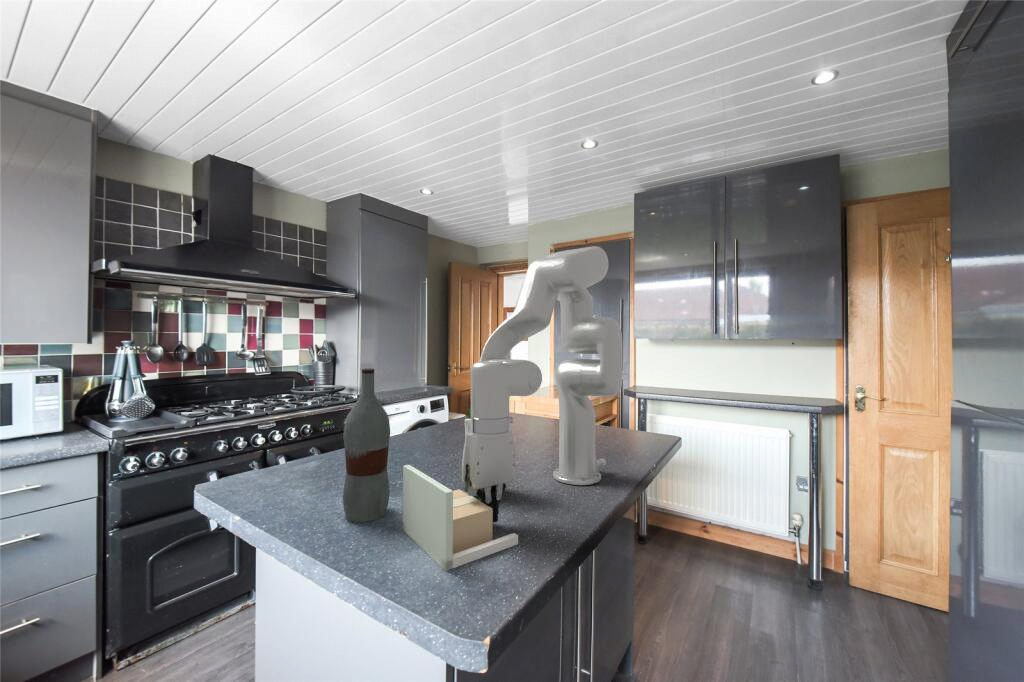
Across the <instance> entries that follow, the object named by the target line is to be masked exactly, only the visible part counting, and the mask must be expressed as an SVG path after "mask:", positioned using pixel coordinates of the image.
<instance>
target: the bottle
mask: <svg viewBox="0 0 1024 682" xmlns="http://www.w3.org/2000/svg"><path fill="white" fill-rule="evenodd" d="M360 385H361V391H360V396H359V397H358V399H357V400H356V401H355V403H354V405H353V407H352V408H351V409H350V412H348V414H347V415H346V418H345V422H344V427H343V443H344V444H343V445H344V454H345V455H344V456H345V457H344V459H345V478H344V483H343V491H342V503H343V504H342V505H343V511H344V515H345V518H346V519H347V520H348V521H350V522H354V523H366V522H371V521H375V520H378V519H380V518H382V517H383V516H385V515H386V514H387V510H388V507H389V502H390V501H389V500H390V493H391V491H390V483H389V480H390V479H389V474H388V457H389V448H390V439H391V426H390V424H391V423H390V419H389V416H388V413H387V411H386V409H385V408H384V407H383V405H382V404H381V402H380V401H379V399H378V398H377V396H376V395H375V368H369V367H368V368H361V384H360Z"/></svg>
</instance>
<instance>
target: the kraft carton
mask: <svg viewBox="0 0 1024 682" xmlns="http://www.w3.org/2000/svg"><path fill="white" fill-rule="evenodd" d="M452 491H453V554H455V553H458V552H461V551H464V550H467V549H469V548H472V547H475V546H478V545H481V544H484V543H487V542H489V541H492V540H493V525H494V522H493V509H492V508H491V507H489V506H487V505H486V504H484V503H482V502H481V500H480V499H478V498H474V497H473V496H468V495H467V494H465V491H463V490H462V489H454V490H452Z"/></svg>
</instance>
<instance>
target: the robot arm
mask: <svg viewBox="0 0 1024 682" xmlns="http://www.w3.org/2000/svg"><path fill="white" fill-rule="evenodd" d="M608 258H609V257H608V255H607V252H606V251H605V250H604V249H603V248H602V247H600V246H597V245H595V246H594V245H593V246H586V247H581V248H575V249H567V250H566V249H565V250H561V251H557V252H553V253H550V254H549V255H547V256H545V257H541V258H537V259H535V260H534V261H532V262H531V263H530V264H529V266H528V268H527V270H526V272H525V276H524V279H523V282H522V285H521V288H520V291H519V293H518V298H517V300H516V303H515V307H514V310H513V312H512V314H510V315H509V316H508V317H507V318H506V319H505V320H504V321H503V322H501V324H500V325H499V326H498V327H497V328H496V329H495V330H494V331H493V332H492V333H491V335H490V336H489V338H488V339H487V340H486V342H485V343H484V347H483V349H482V352H481V355H480V357H479V361H478V362H475V363H473V364H472V366H471V367H470V408H471V432H470V433H467V435H466V439H465V438H464V445H463V452H462V460H461V482H462V483H463V484H465V487H464V492H465V494H467V495H468V496H478V497H479V499H478V500H480V502H482V503H484V504H486V505H487V506H489V507H491V508H492V509H493V523H498V521H499V512H500V511H499V509H500V508H499V507H500V506H499V505H500V504H499V501H501V499H502V495H503V493H504V492H505V490H506V489H507V488H508V487H511V486H512V485H513V484H514V483H515V480H514V479H515V477H516V465H517V464H516V451H515V450H516V449H515V443H514V437H513V433H512V430H510V424H513V423H514V417H513V416H510V397H528V396H532V395H533V394H535V393H536V392H537V391H538V390H539V389H540V387H541V386H542V383H543V373H542V370H541V368H540V367H539V366H538V365H537V364H536V363H535V362H533V361H531V360H529V359H528V360H527V359H509V358H507V356H508V354H509V353H510V352H511V351H512V350H513V348H514V347H516V346H517V345H518V344H520V343H521V342H522V341H524V340H527V339H528V338H530V337H532V336H534V335H536V334H538V333H540V332H542V331H544V330H546V328H548V326H549V325H550V324H551V319H552V316H553V312H554V309H555V305H556V302H557V298H558V299H559V305H560V341H561V346H562V349H563V350H564V351H565V352H567V353H571V354H575V355H577V354H578V355H579V354H581V355H582V354H584V355H598V356H599V359H595V358H594V359H593V358H592V359H591V358H569V359H565V360H563V361H561V362H560V363H559V364H558V365H557V367H556V370H555V383H556V384H555V385H556V388H557V393H558V405H559V407H558V409H559V410H558V413H559V414H558V415H559V416H558V418H559V421H558V423H559V424H558V425H559V428H558V429H559V430H558V432H559V433H558V440H559V442H558V448H559V449H558V468H555V470H553V474H552V476H553V479H554V480H555V481H558V482H560V483H563V484H568V485H574V486H587V485H588V486H589V485H594V483H595V484H598V483H599V482H601V480H602V474H601V473H600V471H598V469H599V468H600V467H604V466H606V465H607V461H606V459H605V458H599V459H597V458H596V411H595V410H596V409H595V407H594V405H593V403H592V401H591V400H590V398H589V396H590V397H601V398H614V397H616V396H617V395H619V393H620V392H621V391H622V386H623V334H622V330H621V326H620V324H619V323H618V321H617V319H614V318H612V317H609V316H599V317H597V316H596V317H595V316H594V315H593V314H594V313H593V311H594V310H593V309H594V307H593V299H592V296H591V293H590V292H589V290H588V289H587V288H590V287H592V286H593V285H595V284H597V283H599V282H601V281H602V280H603V279H604V278H605V277H606V275H607V273H608V271H609V259H608Z"/></svg>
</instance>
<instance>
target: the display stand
mask: <svg viewBox="0 0 1024 682" xmlns="http://www.w3.org/2000/svg"><path fill="white" fill-rule="evenodd" d="M453 491H454V490H452V489H450V488H449V487H447V486H445V485H444V484H442V483H440V482H439V481H437V480H435V479H434V478H432V477H430V476H429V475H427V474H425V473H424V472H423V471H421V470H419V469H417V468H415V467H413V466H412V465H411V464H405V465H403V467H402V530H403V531H404V533H406V535H408V536H409V537H410V538H411V539H412V540H413V541H414V542H415V543H416V545H418V546H419V547H420V548H421V549H422V551H424V552H425V553H426V554H427V555H428V556H430V558H431V559H432V560H433V561H434V562H435V563H436V564H438V565H439V567H441V568H442V570H444V571H445V572H448V571H450V570H453V569H455V568H458V567H460V566H463V565H466V564H468V563H471V562H473V561H476V560H479V559H482V558H484V557H487V556H490V555H493V554H495V553H498V552H501V551H503V550H505V549H509V548H511V547H514V546H517V545H519V534H516V533H515V532H513V533H510V534H507V535H503V536H502V537H498V538H496V539H492V541H489V542H487V543H484V544H481V545H478V546H475V547H472V548H469V549H467V550H464V551H461V552H458V553H455V554H453Z"/></svg>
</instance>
